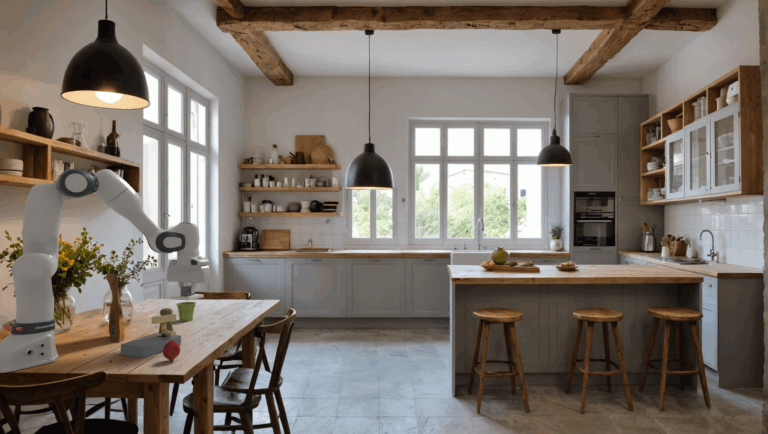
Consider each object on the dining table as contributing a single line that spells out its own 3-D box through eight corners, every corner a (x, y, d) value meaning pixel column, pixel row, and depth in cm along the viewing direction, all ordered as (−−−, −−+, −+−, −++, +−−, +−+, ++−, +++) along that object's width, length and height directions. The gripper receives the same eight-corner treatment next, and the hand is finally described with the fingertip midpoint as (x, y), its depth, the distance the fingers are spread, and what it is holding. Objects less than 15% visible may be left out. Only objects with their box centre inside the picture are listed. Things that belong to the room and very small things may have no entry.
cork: (167, 334, 212) (167, 310, 212) (155, 334, 214) (155, 309, 214) (176, 331, 218) (176, 307, 218) (164, 331, 219) (164, 307, 220)
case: (143, 357, 177) (143, 346, 177) (120, 354, 180) (120, 343, 180) (180, 345, 194) (181, 334, 195) (159, 342, 198) (159, 332, 198)
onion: (162, 363, 169) (162, 341, 170) (162, 359, 175) (163, 337, 175) (180, 362, 172) (180, 339, 172) (180, 357, 177) (180, 336, 177)
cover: (188, 300, 198) (188, 287, 198) (171, 299, 201) (171, 286, 201) (203, 297, 206) (203, 285, 206) (186, 296, 209) (186, 284, 209)
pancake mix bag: (107, 344, 195) (108, 275, 195) (105, 334, 211) (106, 271, 211) (126, 342, 198) (127, 274, 199) (122, 333, 215) (123, 270, 215)
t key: (183, 335, 192) (184, 316, 193) (162, 339, 185) (162, 320, 185) (172, 332, 197) (173, 313, 197) (151, 336, 190) (151, 317, 190)
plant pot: (183, 323, 237) (183, 305, 237) (172, 320, 242) (172, 303, 242) (199, 320, 244) (200, 303, 245) (188, 317, 250) (188, 301, 250)
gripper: (163, 260, 204) (162, 292, 204) (202, 261, 197) (202, 295, 197) (174, 259, 210) (173, 290, 210) (212, 260, 203) (212, 293, 203)
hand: (187, 292), depth 204 cm, fingers closed on cover, 3 cm apart
